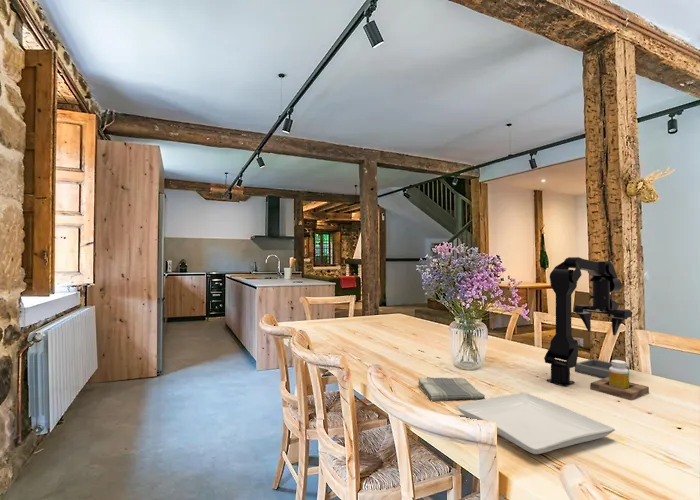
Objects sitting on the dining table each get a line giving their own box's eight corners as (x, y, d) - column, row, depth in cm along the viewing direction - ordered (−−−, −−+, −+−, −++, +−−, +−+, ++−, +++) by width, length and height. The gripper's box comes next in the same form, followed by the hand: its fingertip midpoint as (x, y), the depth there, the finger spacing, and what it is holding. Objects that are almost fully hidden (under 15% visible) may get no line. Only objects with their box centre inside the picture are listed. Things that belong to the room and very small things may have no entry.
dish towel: (487, 401, 119) (487, 391, 119) (430, 403, 118) (430, 392, 118) (465, 382, 138) (465, 373, 138) (416, 383, 137) (416, 374, 137)
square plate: (535, 466, 82) (535, 448, 82) (453, 417, 107) (453, 403, 107) (617, 442, 93) (616, 425, 93) (524, 402, 118) (524, 390, 118)
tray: (611, 380, 137) (611, 372, 137) (574, 371, 148) (574, 363, 149) (629, 374, 144) (629, 366, 144) (592, 366, 155) (592, 358, 155)
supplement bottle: (629, 395, 123) (628, 364, 123) (608, 391, 126) (608, 361, 127) (629, 390, 127) (629, 360, 128) (609, 387, 131) (609, 358, 131)
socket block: (631, 400, 119) (631, 393, 119) (590, 388, 129) (590, 382, 129) (648, 392, 125) (648, 386, 125) (608, 382, 135) (608, 377, 135)
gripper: (638, 294, 146) (639, 335, 146) (588, 290, 162) (588, 327, 162) (623, 295, 140) (624, 338, 140) (572, 291, 157) (572, 330, 156)
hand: (601, 333), depth 150 cm, fingers open, 9 cm apart
